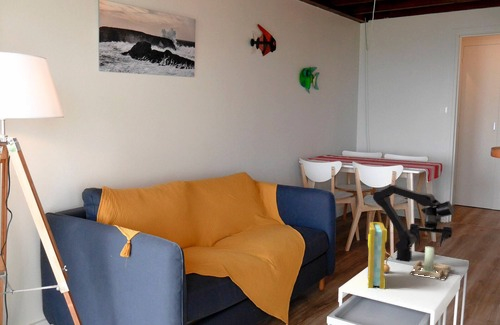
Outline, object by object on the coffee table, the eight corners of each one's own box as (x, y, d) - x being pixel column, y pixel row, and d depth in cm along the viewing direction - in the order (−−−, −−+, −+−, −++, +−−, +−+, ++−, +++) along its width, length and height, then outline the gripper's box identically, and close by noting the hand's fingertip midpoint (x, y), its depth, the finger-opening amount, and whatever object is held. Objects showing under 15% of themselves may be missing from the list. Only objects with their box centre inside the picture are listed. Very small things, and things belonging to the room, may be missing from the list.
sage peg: (420, 273, 216) (421, 247, 215) (423, 270, 221) (424, 245, 220) (434, 275, 213) (435, 249, 212) (436, 272, 218) (437, 247, 217)
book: (384, 289, 197) (386, 230, 195) (368, 287, 198) (370, 229, 196) (381, 276, 213) (383, 222, 211) (366, 275, 215) (368, 221, 213)
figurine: (395, 273, 218) (396, 248, 217) (390, 276, 213) (391, 250, 213) (378, 269, 223) (379, 245, 222) (373, 272, 219) (374, 247, 218)
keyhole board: (409, 274, 217) (410, 269, 217) (417, 265, 232) (418, 260, 232) (444, 280, 209) (444, 275, 209) (450, 270, 224) (450, 265, 224)
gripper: (410, 207, 227) (408, 234, 218) (452, 209, 220) (452, 238, 211) (411, 220, 235) (409, 246, 226) (451, 223, 228) (451, 251, 219)
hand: (429, 245), depth 220 cm, fingers open, 9 cm apart
